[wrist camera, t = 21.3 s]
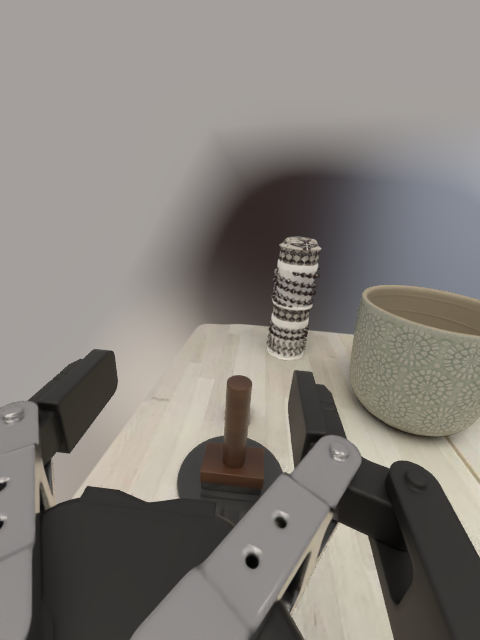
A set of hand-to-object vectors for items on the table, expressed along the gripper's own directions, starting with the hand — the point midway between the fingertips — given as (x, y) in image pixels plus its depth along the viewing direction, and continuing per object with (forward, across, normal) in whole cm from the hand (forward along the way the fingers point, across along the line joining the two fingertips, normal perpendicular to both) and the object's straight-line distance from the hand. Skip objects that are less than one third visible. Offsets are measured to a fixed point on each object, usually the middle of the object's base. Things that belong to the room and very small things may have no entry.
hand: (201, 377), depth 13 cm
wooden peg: (+14, -2, +24) cm, 28 cm away
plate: (+14, -1, +25) cm, 28 cm away
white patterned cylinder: (+47, -10, +25) cm, 54 cm away
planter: (+31, -29, +25) cm, 49 cm away
